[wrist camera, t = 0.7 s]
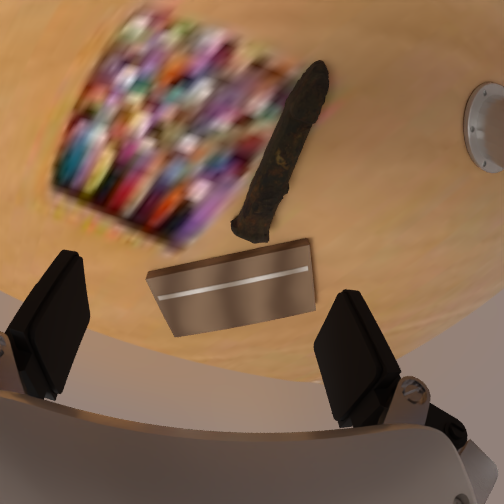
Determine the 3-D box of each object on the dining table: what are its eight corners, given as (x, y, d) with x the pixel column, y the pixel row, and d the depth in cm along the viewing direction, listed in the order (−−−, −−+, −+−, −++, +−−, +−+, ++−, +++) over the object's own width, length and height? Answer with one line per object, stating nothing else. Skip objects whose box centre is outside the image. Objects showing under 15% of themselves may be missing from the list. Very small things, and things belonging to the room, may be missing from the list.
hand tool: (263, 232, 34) (268, 254, 30) (229, 220, 32) (230, 241, 29) (339, 75, 25) (357, 74, 21) (303, 56, 24) (317, 52, 20)
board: (306, 238, 34) (309, 245, 33) (313, 303, 39) (316, 310, 38) (148, 271, 35) (145, 279, 33) (176, 329, 40) (174, 337, 39)
